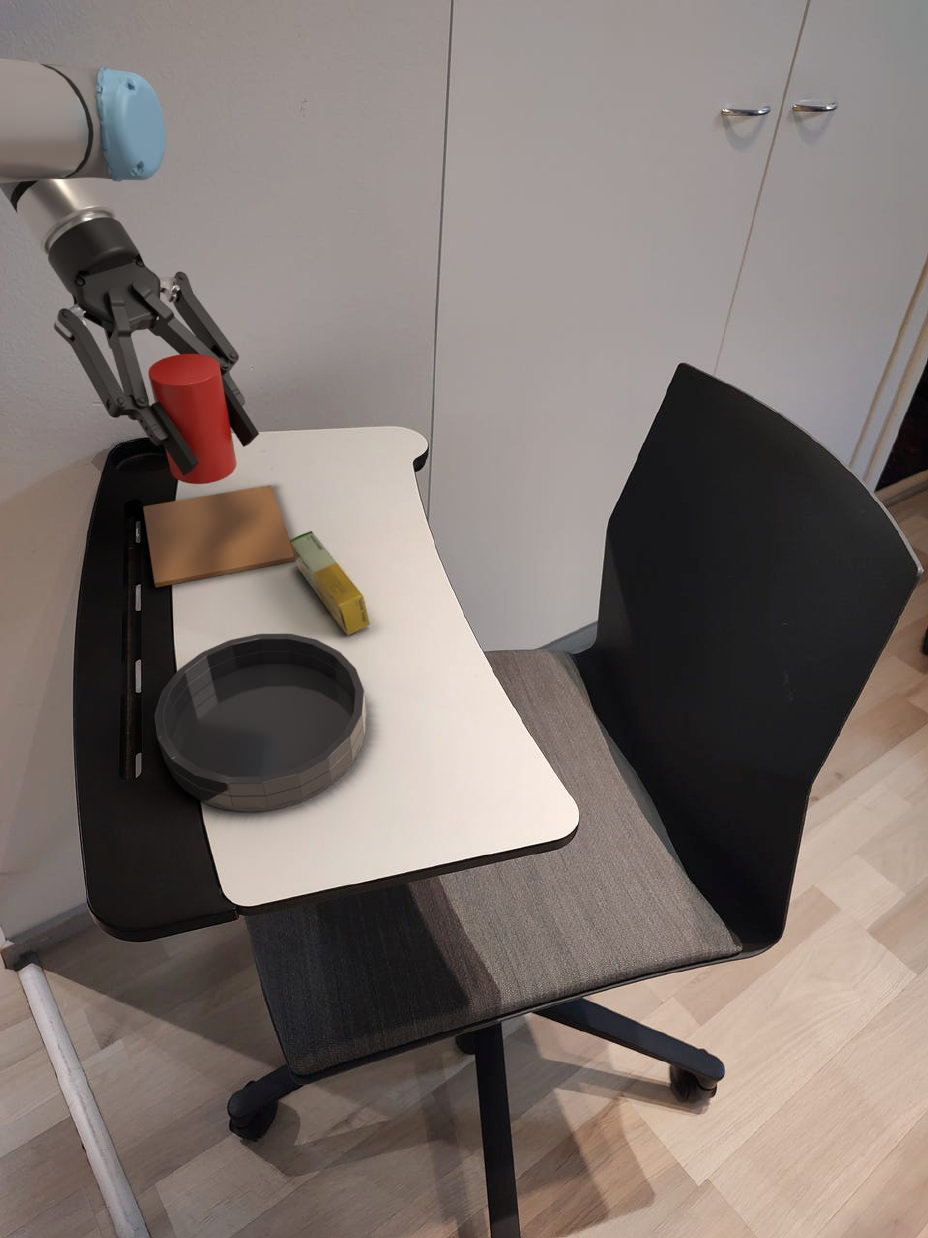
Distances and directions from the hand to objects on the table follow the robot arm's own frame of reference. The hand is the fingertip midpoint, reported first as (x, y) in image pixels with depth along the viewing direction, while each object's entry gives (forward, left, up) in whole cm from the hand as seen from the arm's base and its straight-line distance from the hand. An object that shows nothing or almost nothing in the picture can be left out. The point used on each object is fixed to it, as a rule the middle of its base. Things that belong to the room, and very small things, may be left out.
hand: (221, 454), depth 85 cm
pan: (-2, -26, -11) cm, 28 cm away
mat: (-2, +3, -11) cm, 12 cm away
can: (-2, +3, -3) cm, 5 cm away
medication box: (+7, -11, -11) cm, 17 cm away
